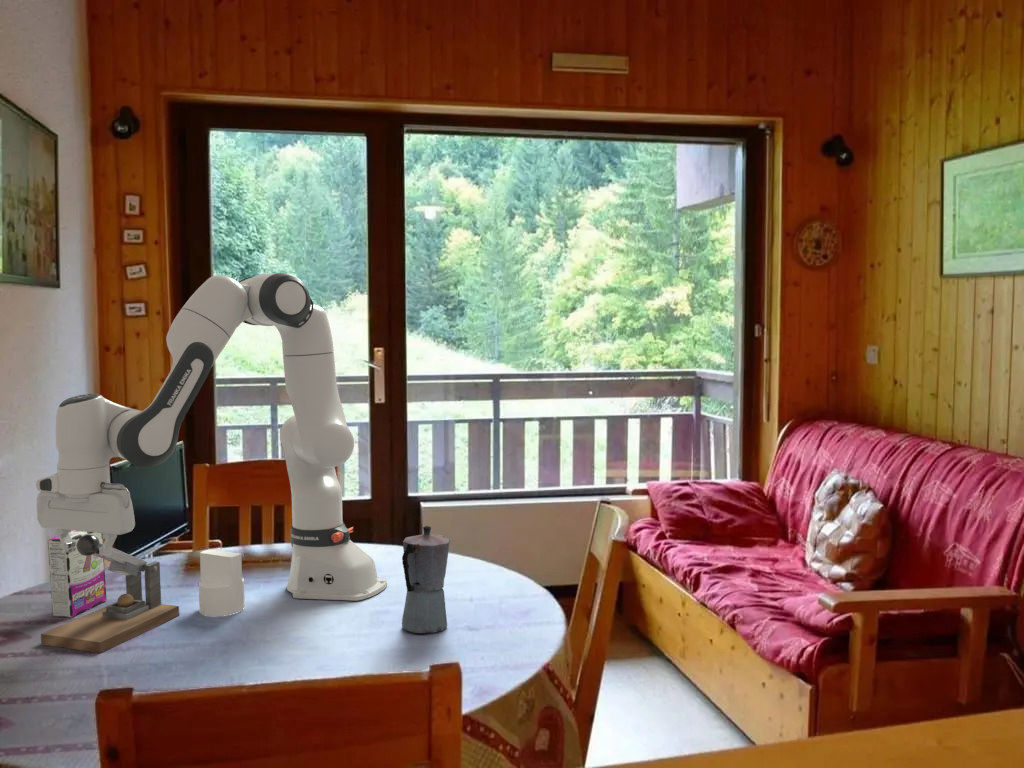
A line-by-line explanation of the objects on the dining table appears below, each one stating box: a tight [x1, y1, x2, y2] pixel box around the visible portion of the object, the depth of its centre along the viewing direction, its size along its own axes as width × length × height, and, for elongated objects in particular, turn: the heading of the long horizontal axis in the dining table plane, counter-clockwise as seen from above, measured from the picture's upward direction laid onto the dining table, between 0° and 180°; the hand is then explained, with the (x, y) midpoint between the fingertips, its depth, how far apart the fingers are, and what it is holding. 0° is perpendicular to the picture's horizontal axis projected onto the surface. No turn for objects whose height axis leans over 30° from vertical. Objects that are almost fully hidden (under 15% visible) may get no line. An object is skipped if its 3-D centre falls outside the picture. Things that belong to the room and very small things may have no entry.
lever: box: [77, 534, 148, 576], centre depth 170 cm, size 4×17×4 cm, turn 161°
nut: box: [116, 593, 134, 608], centre depth 174 cm, size 3×3×3 cm
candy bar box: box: [47, 530, 107, 618], centre depth 183 cm, size 11×5×16 cm, turn 168°
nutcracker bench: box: [40, 561, 180, 654], centre depth 171 cm, size 14×21×11 cm, turn 161°
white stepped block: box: [198, 548, 246, 617], centre depth 182 cm, size 9×9×12 cm
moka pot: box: [401, 525, 451, 634], centre depth 170 cm, size 10×15×20 cm, turn 161°
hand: (87, 553), depth 165 cm, fingers open, 7 cm apart
